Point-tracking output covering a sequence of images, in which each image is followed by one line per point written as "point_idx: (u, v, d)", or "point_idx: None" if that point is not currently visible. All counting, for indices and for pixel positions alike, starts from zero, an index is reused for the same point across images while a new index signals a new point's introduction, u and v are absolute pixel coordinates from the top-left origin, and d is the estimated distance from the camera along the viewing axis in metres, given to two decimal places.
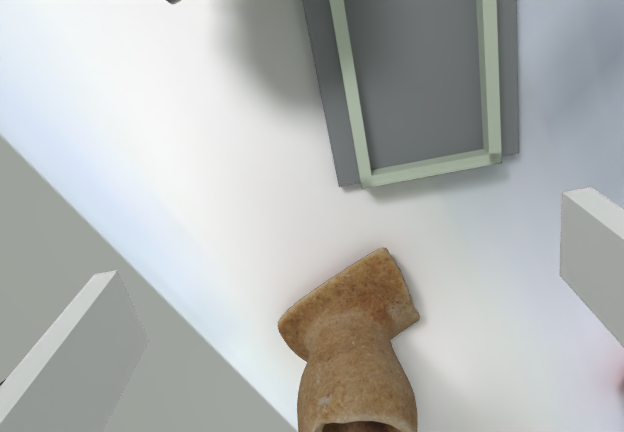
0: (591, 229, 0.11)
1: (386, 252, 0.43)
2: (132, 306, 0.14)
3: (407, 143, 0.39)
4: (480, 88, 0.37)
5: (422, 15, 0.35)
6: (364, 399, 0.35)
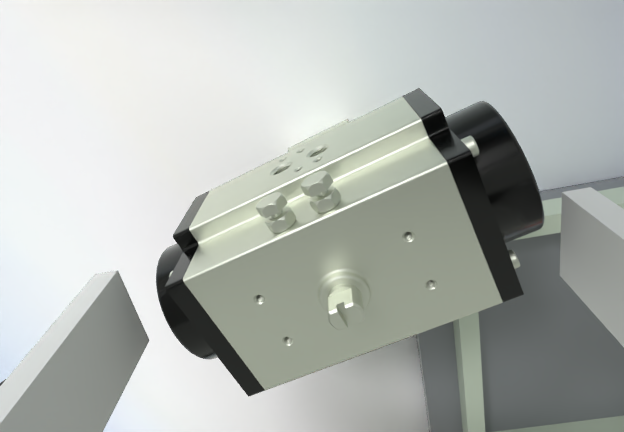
0: (590, 228, 0.11)
1: None
2: (132, 306, 0.14)
3: (536, 406, 0.28)
4: None
5: None
6: None
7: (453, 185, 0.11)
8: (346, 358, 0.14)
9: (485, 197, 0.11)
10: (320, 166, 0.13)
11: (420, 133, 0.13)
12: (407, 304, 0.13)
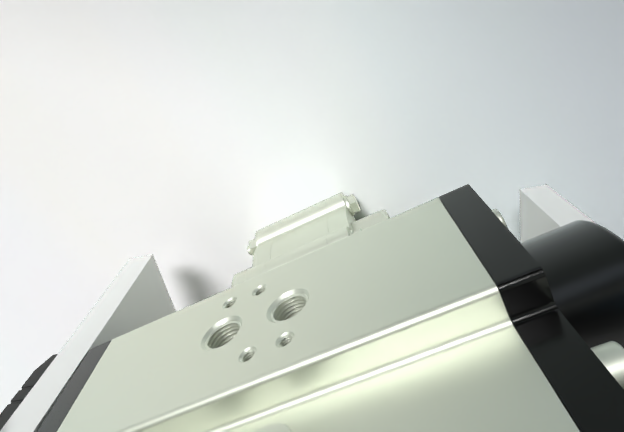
0: (542, 223, 0.12)
1: None
2: (165, 289, 0.15)
3: None
4: None
5: None
6: None
7: None
8: None
9: None
10: (287, 369, 0.06)
11: (494, 314, 0.06)
12: None
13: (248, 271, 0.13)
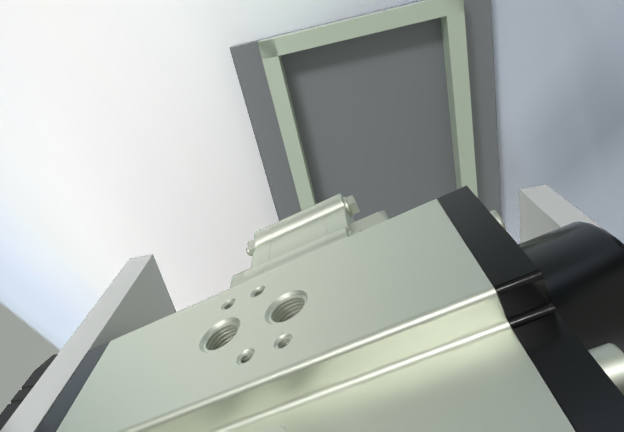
0: (542, 223, 0.12)
1: None
2: (165, 289, 0.15)
3: None
4: (454, 164, 0.31)
5: (381, 83, 0.29)
6: None
7: None
8: None
9: None
10: (285, 371, 0.06)
11: (492, 316, 0.06)
12: None
13: (247, 272, 0.13)
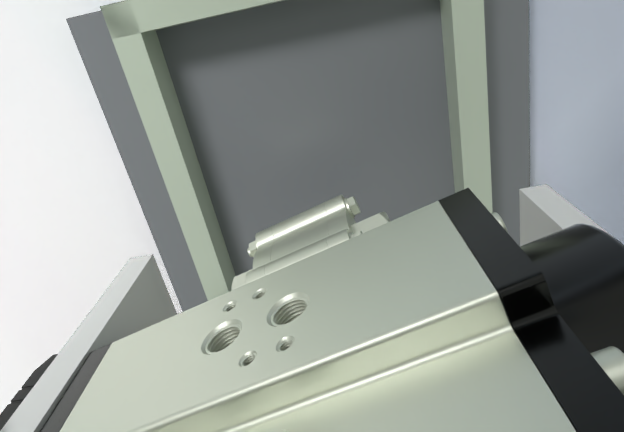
0: (542, 222, 0.12)
1: None
2: (165, 289, 0.15)
3: None
4: None
5: (334, 87, 0.17)
6: None
7: None
8: None
9: None
10: (287, 373, 0.06)
11: (494, 319, 0.06)
12: None
13: (248, 273, 0.13)
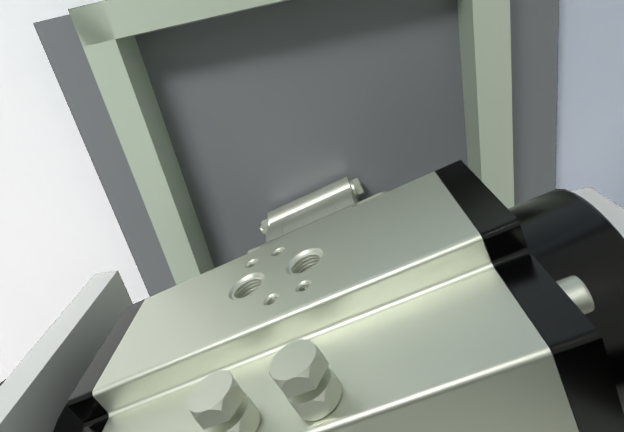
0: None
1: None
2: None
3: None
4: None
5: (337, 100, 0.15)
6: None
7: (558, 388, 0.06)
8: None
9: (616, 407, 0.06)
10: (306, 306, 0.08)
11: (479, 258, 0.07)
12: None
13: (262, 245, 0.14)
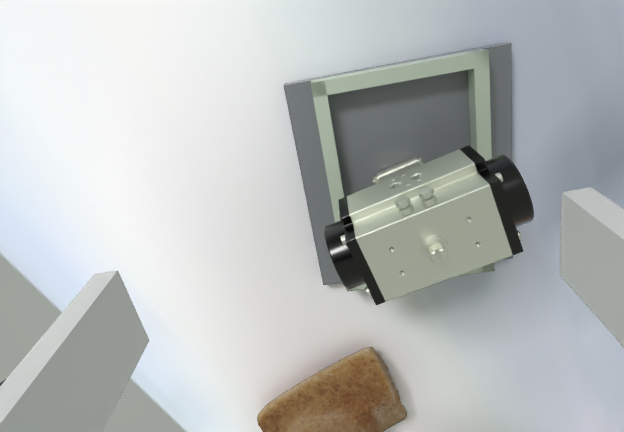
0: (591, 228, 0.11)
1: (372, 353, 0.40)
2: (132, 306, 0.14)
3: None
4: None
5: (413, 122, 0.33)
6: None
7: (491, 195, 0.24)
8: (431, 284, 0.26)
9: (506, 201, 0.24)
10: (422, 184, 0.26)
11: (473, 170, 0.26)
12: (465, 254, 0.25)
13: None
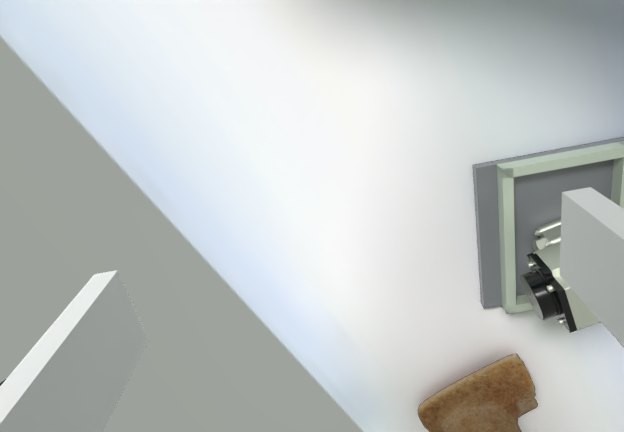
0: (590, 228, 0.11)
1: (518, 358, 0.52)
2: (132, 306, 0.14)
3: None
4: None
5: None
6: None
7: None
8: None
9: None
10: None
11: None
12: None
13: (550, 239, 0.44)
